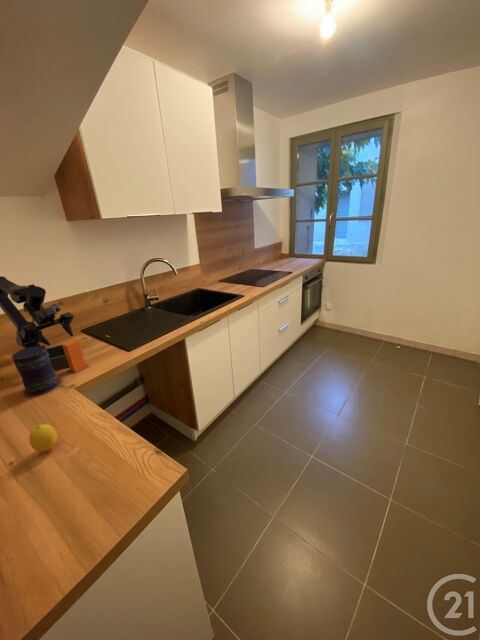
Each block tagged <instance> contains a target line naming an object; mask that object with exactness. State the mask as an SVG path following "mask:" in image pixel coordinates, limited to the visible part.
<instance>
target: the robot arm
mask: <svg viewBox="0 0 480 640" xmlns="http://www.w3.org/2000/svg"><path fill="white" fill-rule="evenodd" d="M46 294H47V291H46V289H45V288H43V287H41V286H38V285H35V284H28V285H19V284H16V283H14V282H13V281H11V280H9V279H7V278H6V277H5V276H0V309H1V310H2V312H3V313H4V314H5V316H6V317H7V318H8V319H9V320H10V322H11V323H12V324H13V325H14V326H15V329H16V331H15V335H16V337H15V338H16V339H15V342H16V345H17V346H18V347H20V348H21V347H22V348H23V349H25V348H28V347H33V346H41V344H43V345H46V346H48V347H49V346H51V343H50V341H49V340H48V339H47V338H46V337H45V336H44V335H43V331H42V330H44V329H48V328H50V327H53V326H57V325H60V326H62V327H61V328H62V329H63V330H64V331H65V332H66V333H67V334H68V335H69V336H70V337H74V333H73V330H72V326H71V324H72V323H73V319H74V317H75V315H74V314H73V313H72V312H70V311H68V312H64V313H62V314H60V315H59V318H57V319H55V318H56V315H57V314H58V313H59V312H60V311H61V308H60V306H59V305H58V304H57V303H54V304H51V305H50V306H49V307H46V308H45V307H44V306H43V304H44V302H45V298H46ZM9 296H10V297H9ZM14 303H16V304H17V305H19V304H22V303H23V305H22V308H23V311H24V312H26V313H27V314H28V315H29V316H30V317H31V321H28V320H27V319H26V317H24V315H23V313H22V312H21V311H20V310H19V309H18V308H17V306H16V305H15V304H14ZM40 343H41V344H40Z"/></svg>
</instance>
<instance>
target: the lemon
mask: <svg viewBox="0 0 480 640" xmlns="http://www.w3.org/2000/svg"><path fill="white" fill-rule="evenodd" d="M28 438H29V444H30V446H31V448H32V449H33V450H35V451H37V452H46V451H49V450H51V448H53V447H54V445H55V444H56V442H57V438H58V435H57V432H56V429H55V428H54V427H53V426H52V425H50V424H48V423H47V424H46V423H42V424H39V425H36V426H35V427H34V428H33V429H32V430H31V431H30V433H29V437H28Z"/></svg>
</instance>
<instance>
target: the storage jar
mask: <svg viewBox="0 0 480 640" xmlns="http://www.w3.org/2000/svg"><path fill="white" fill-rule="evenodd" d="M11 358H12V360H13V363H14V366H15V368H16V371H18V372H19V375H20V377H21V382H22V384H23V387H24V389H25V390H26V393H27V395H28V396H39V395H44V394H46V393H48V392H51V391H52V390H54V389H55V388H56V387H57V386H59V380H58V376H57V373H56V371H54V369H53V368H52V365H51V362H50V361H51V360H50V357H49V354H48V352H47V347H46V346H45V345H40V346H33V347H28V348H23V349H20V350H18V351H16V352H14V353H13V354H12V355H11Z"/></svg>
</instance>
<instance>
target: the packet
mask: <svg viewBox="0 0 480 640" xmlns="http://www.w3.org/2000/svg"><path fill="white" fill-rule="evenodd" d="M61 345H62V346H63V349H64V352H65V355H66V358H67V361H68V364H69V367H68V368H69V370H70V371H71V372H72V373H77V372H79V371H81V370H83V369H84V368H86V367H87V364H86V361H85V357H84V355H83V351H82V348H81V345H80V342H79V340H77V339H72V340H69V341H68V342H65V343H63V344H61Z"/></svg>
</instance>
